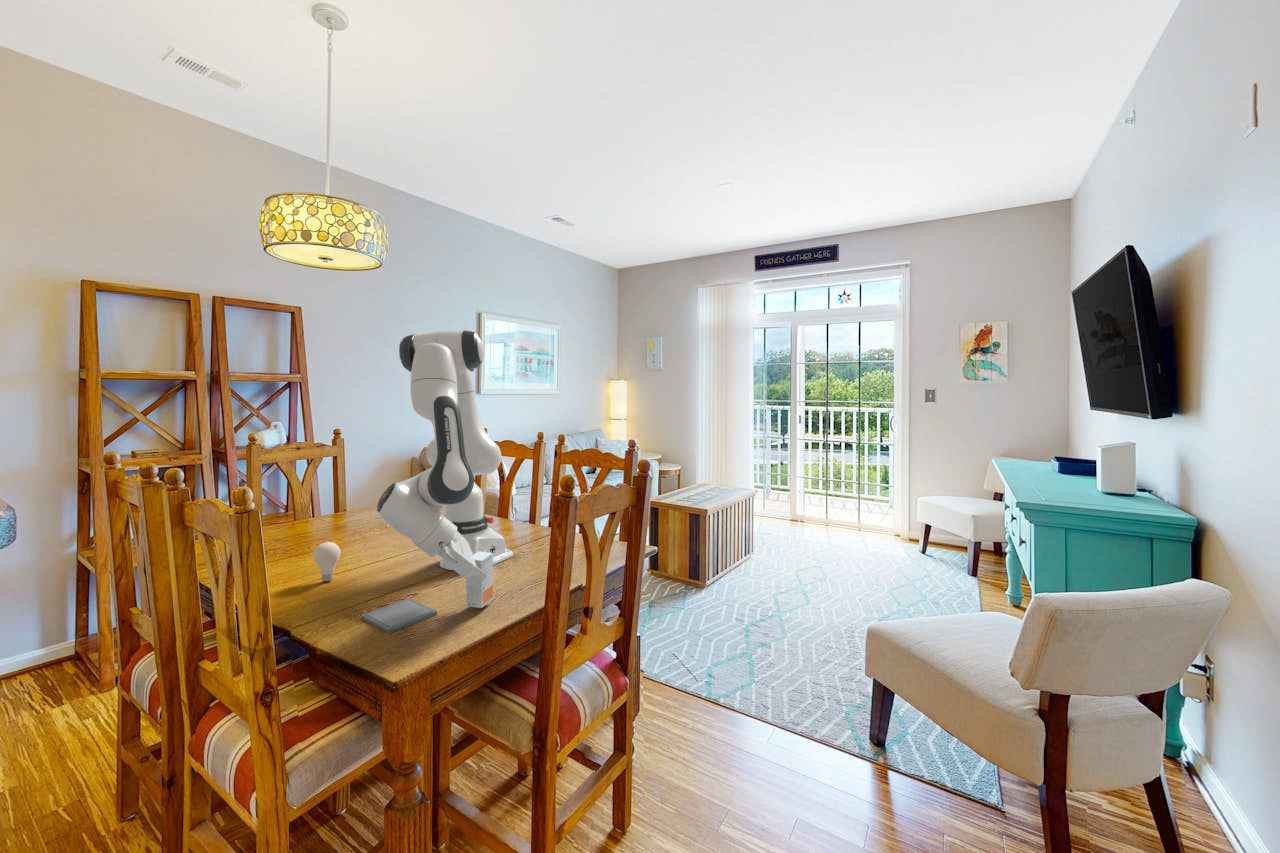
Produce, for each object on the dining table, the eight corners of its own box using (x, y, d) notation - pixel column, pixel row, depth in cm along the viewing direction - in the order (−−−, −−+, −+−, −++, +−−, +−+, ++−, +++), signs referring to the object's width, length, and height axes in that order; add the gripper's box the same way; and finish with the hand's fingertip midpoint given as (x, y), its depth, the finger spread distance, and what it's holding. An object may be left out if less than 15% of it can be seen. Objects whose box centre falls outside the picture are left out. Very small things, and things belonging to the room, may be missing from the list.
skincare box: (482, 608, 126) (481, 561, 125) (466, 607, 127) (464, 559, 126) (494, 598, 132) (493, 552, 131) (479, 596, 133) (477, 550, 132)
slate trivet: (409, 601, 132) (409, 598, 132) (437, 614, 125) (437, 610, 125) (361, 618, 122) (361, 614, 122) (388, 633, 115) (388, 629, 115)
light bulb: (321, 577, 147) (320, 538, 147) (346, 576, 148) (344, 538, 147) (308, 586, 141) (307, 546, 140) (334, 585, 141) (333, 546, 141)
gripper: (451, 540, 115) (498, 576, 120) (445, 516, 134) (486, 548, 139) (430, 562, 114) (478, 598, 119) (427, 535, 132) (468, 567, 137)
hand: (482, 571), depth 129 cm, fingers closed on skincare box, 7 cm apart
